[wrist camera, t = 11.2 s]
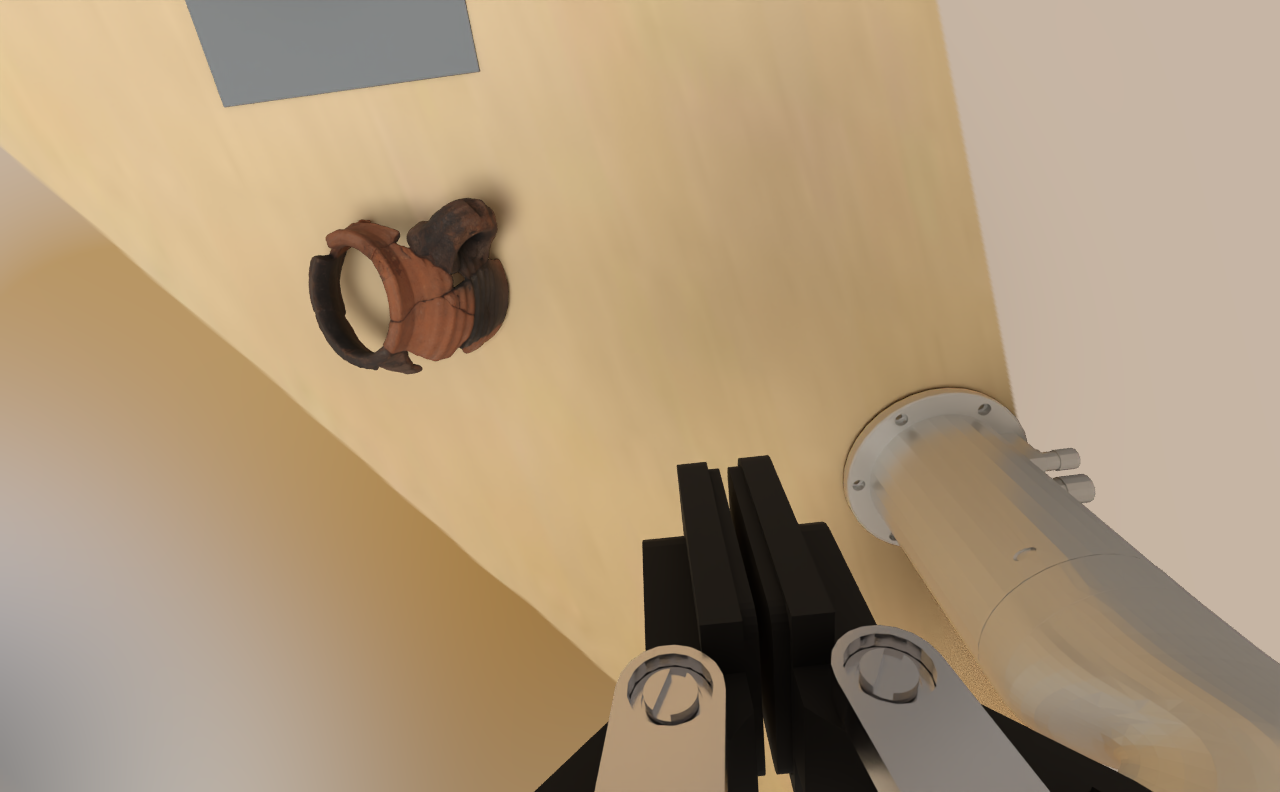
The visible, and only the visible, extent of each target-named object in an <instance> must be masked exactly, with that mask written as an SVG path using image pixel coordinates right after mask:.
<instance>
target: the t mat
mask: <svg viewBox="0 0 1280 792" xmlns="http://www.w3.org/2000/svg"><path fill="white" fill-rule="evenodd" d="M185 1H186V4H187V7H188V9H189V12H190V15H191V18H192V20H193V23H194V26H195V29H196V31H197V34H198V37H199V40H200V42H201V45H202V48H203V51H204V53H205V56H206V59H207V62H208V64H209V67H210V70H211V73H212V75H213V78H214V81H215V84H216V86H217V89H218V92H219V95H220V97H221V100H222V103H223V106H224V107H229V106H237V105H244V104H251V103H258V102H265V101H272V100H279V99H287V98H294V97H301V96H308V95H315V94H322V93H330V92H337V91H344V90H351V89H358V88H365V87H372V86H380V85H387V84H394V83H401V82H408V81H415V80H423V79H430V78H437V77H444V76H451V75H458V74H465V73H473V72H480V71H479V66H478V61H477V56H476V51H475V46H474V42H473V37H472V32H471V27H470V22H469V17H468V12H467V7H466V3H465V0H185Z"/></svg>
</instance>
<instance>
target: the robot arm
mask: <svg viewBox="0 0 1280 792" xmlns="http://www.w3.org/2000/svg"><path fill="white" fill-rule="evenodd" d="M1079 465H1080V456H1079V454H1078V452H1077V451H1076V450H1075V449H1073V448H1067V449H1059V450H1052V451H1050V452H1043V453H1041V452H1040V451H1039V450H1036V449H1034V448H1033V447H1032V446H1031V445H1029V444H1028V443H1027V439H1026V435H1025V432H1024V430H1023V428H1022V427H1021V425H1020V423H1019V421H1018V419H1017V418H1016V417H1015V416H1014V415H1013V414H1012V413H1011V412H1010V411H1009V410H1008V409H1007V408H1006V407H1005V406H1003V405H1002V404H1000V403H999V402H998V401H996V400H995V399H993V398H991V397H989V396H987V395H985V394H983V393H981V392H977V391H973V390H969V389H964V388H941V389H933V390H927V391H924V392H921V393H917V394H914V395H911V396H909V397H907V398H905V399H903V400H900V401H898V402H896V403H894V404H893V405H891V406H890V407H888V408H887V409H885V410H884V411H883V412H881V413H880V414H879V415H877V416H876V417H875V418H874V419H873V420H872V421H871V422H870V423H869V424H868V425H867V426H866V427H865V428H864V430H863V431H862V432H861V434H860V435H859V436H858V438H857V439H856V441H855V443H854V444H853V446H852V448H851V450H850V452H849V454H848V458H847V461H846V465H845V468H844V481H843V484H844V491H845V497H846V499H847V502H848V504H849V506H850V509H851V511H852V512H853V514H854V515H855V517H856V519H857V520H858V522H859V523H860V524H861V525H862V526H863V527H864V528H865V529H866V530H867V531H868V532H869V533H871V534H872V535H874V536H875V537H877V538H878V539H880V540H882V541H885V542H887V543H889V544H892V545H897V546H901V548H902V549H903V551H904V552H905V554H906V555H907V557H908V558H909V560H910V561H911V563H912V564H913V566H914V568H915V569H916V571H917V572H918V574H919V575H920V577H921V578H922V580H923V581H924V583H925V584H926V586H927V587H928V589H929V591H930V592H931V594H932V595H933V597H934V598H935V600H936V601H937V603H938V604H939V606H940V607H941V609H942V610H943V612H944V614H945V615H946V617H947V618H948V620H949V621H950V623H951V624H952V626H953V627H954V629H955V630H956V632H957V633H958V635H959V637H960V638H961V640H962V641H963V643H964V644H965V646H966V647H967V649H968V650H969V652H970V653H971V655H972V656H973V658H974V660H975V661H976V663H977V664H978V666H979V667H980V669H981V670H982V672H983V673H984V675H985V676H986V678H987V679H988V681H989V682H990V684H991V685H992V687H993V688H994V690H995V691H996V693H997V694H998V696H999V697H1000V698H1001V700H1002V701H1003V702H1004V703H1005V705H1006V706H1007V707H1008V708H1009V709H1010V710H1011V711H1012V712H1013V713H1014V714H1015V715H1016V716H1017V718H1018V719H1020V720H1021V721H1022V722H1023V723H1024V724H1026V725H1027V726H1028V727H1030V728H1031V729H1030V728H1028V727H1026V726H1024V725H1022V724H1020V723H1018V722H1016V721H1014V720H1012V719H1010V718H1008V717H1006V716H1004V715H1002V714H1000V713H998V712H996V711H994V710H992V709H990V708H988V707H986V706H984V705H982V704H980V703H979V702H978V700H977V699H976V698H975V697H974V695H973V694H972V693H971V692H970V690H969V689H968V688H967V687H966V685H965V684H964V683H963V682H962V680H961V679H960V678H959V677H958V675H957V674H956V673H955V672H954V670H953V669H952V668H951V667H950V665H949V664H948V663H947V662H946V660H945V659H944V658H943V657H942V655H941V654H940V653H939V652H938V651H937V650H936V649H935V648H934V647H933V646H932V645H930V644H929V643H928V642H927V641H925V640H923V639H922V638H920V637H918V636H917V635H915V634H913V633H911V632H908V631H905V630H902V629H899V628H896V627H890V626H882V625H877V624H876V622H875V620H874V618H873V616H872V614H871V612H870V610H869V608H868V606H867V604H866V602H865V600H864V598H863V596H862V594H861V592H860V590H859V588H858V586H857V584H856V582H855V580H854V578H853V576H852V574H851V572H850V570H849V568H848V566H847V564H846V562H845V560H844V558H843V556H842V553H841V551H840V549H839V547H838V545H837V543H836V541H835V539H834V537H833V535H832V533H831V531H830V529H829V527H828V526H827V524H826V523H824V522H815V523H805V524H798V523H797V520H796V518H795V516H794V513H793V511H792V509H791V506H790V504H789V501H788V499H787V497H786V494H785V492H784V490H783V487H782V485H781V482H780V480H779V478H778V475H777V473H776V470H775V468H774V466H773V463H772V461H771V459H770V457H769V456H768V455H766V456H756V457H747V458H738V466H737V467H728V488H729V503H730V509H729V505H728V502H727V498H726V494H725V490H724V486H723V482H722V478H721V475H720V471H719V469H708V467H707V463H706V462H700V463H691V464H681V465H677V473H678V483H679V492H680V502H681V512H682V522H683V531H684V536H679V537H669V538H660V539H650V540H643V542H642V548H643V580H644V613H645V645H646V651H644V652H643V653H641V654H640V655H638V656H637V657H635V658H634V659H632V660H631V661H630V662H629V663H628V665H627V666H626V667H625V668H624V669H623V671H622V672H621V674H620V676H619V679H618V682H617V684H616V688H615V693H614V698H613V703H612V708H611V713H610V718H609V721H608V722H607V723H606V724H605V725H604V726H603V727H602V728H601V729H600V730H599V731H598V732H597V733H596V734H595V735H594V736H593V737H591V738H590V739H589V740H588V741H587V742H586V743H585V744H584V745H583V746H582V747H581V748H580V749H579V750H578V751H577V752H576V753H575V754H574V755H572V756H571V757H570V759H568V760H567V761H566V762H565V763H564V764H563V765H562V766H561V767H560V768H559V769H558V770H557V771H556V772H555V773H554V774H552V776H550V777H549V778H548V779H547V780H546V781H545V782H544V783H543V784H542V785H541V786H540V787H539V788H538V789H537V790H536V791H535V792H758V776H765V774H766V770H765V750H764V729H763V719H764V723H765V728H766V732H767V737H768V741H769V746H770V750H771V755H772V759H773V763H774V767H775V771H776V773H777V774H787V773H789V775H790V779H791V783H792V787H793V791H794V792H1280V664H1279V663H1278V662H1276V661H1275V660H1274V659H1272V658H1271V657H1270V656H1268V655H1267V654H1265V653H1264V652H1263V651H1262V650H1260V649H1259V648H1257V647H1256V646H1255V645H1254V644H1253V643H1251V642H1250V641H1249V640H1247V639H1246V638H1245V637H1243V636H1242V635H1241V634H1240V633H1239V632H1237V631H1236V630H1235V629H1233V628H1232V627H1231V626H1230V625H1228V624H1227V623H1226V622H1224V621H1223V620H1222V619H1221V618H1220V617H1218V616H1217V615H1216V614H1214V613H1213V612H1212V611H1211V610H1209V609H1208V608H1207V607H1206V606H1204V605H1203V604H1202V603H1201V602H1199V601H1198V600H1197V599H1196V598H1195V597H1193V596H1192V595H1191V594H1190V593H1188V592H1187V591H1186V590H1185V589H1184V588H1182V587H1181V586H1180V585H1179V584H1178V583H1176V582H1175V581H1174V580H1173V579H1172V578H1170V577H1169V576H1168V575H1167V574H1166V573H1165V572H1163V571H1162V570H1161V569H1159V568H1158V567H1157V566H1155V565H1154V564H1153V563H1152V562H1150V561H1149V560H1148V559H1147V558H1146V557H1145V556H1143V555H1142V554H1141V553H1140V552H1139V551H1137V550H1136V549H1135V548H1134V547H1133V546H1131V545H1130V544H1129V543H1128V542H1127V541H1126V540H1124V539H1123V538H1122V537H1121V536H1120V535H1118V534H1117V533H1116V532H1115V531H1114V530H1112V529H1111V528H1110V527H1109V526H1108V525H1106V524H1105V523H1104V522H1103V521H1102V520H1100V519H1099V518H1098V517H1097V516H1096V515H1095V514H1093V513H1092V512H1091V511H1090V510H1089V509H1087V508H1086V507H1085V506H1084V505H1083V504H1082V503H1087V502H1091V501H1092V500H1093V499H1094V496H1095V487H1094V485H1093V482H1092V481H1091V479H1090V478H1089V477H1088V476H1087V475H1084V474H1078V475H1069V476H1061V477H1055V478H1053V479H1052V478H1051V477H1049V476H1048V475H1047V474H1046V473H1045V471H1051V470H1056V471H1060V470H1068V469H1075V468H1078V467H1079ZM1100 763H1101V764H1100ZM1102 764H1104V765H1106V766H1109V767H1112V768H1115V769H1118V772H1116V771H1114V770H1112V769H1110V768H1108V767H1106V766H1104V765H1102Z"/></svg>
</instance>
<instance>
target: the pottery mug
mask: <svg viewBox="0 0 1280 792" xmlns="http://www.w3.org/2000/svg"><path fill="white" fill-rule="evenodd" d="M496 233H497V223H496V218H495V214H494V212H493V211H492V209H491V208H489V207H487V206H486V205H485V203H484V202H483V201H482V200H480V199H471V198H464V199H458V200H455V201H452V202H450V203H448V204H447V205H445V206H443V207H442V208H441V209H440V210H438V211H437V212H436V213H435V214H434V215H433V216H432V217H431V218H430V220H429V221H422V222H419V223H418V224H417V225H415V226H414V227H413V228H411V229H410V230H409V232H408V234H407V242H408V244H409V246H410V248H407V247H405V246H400V245H398V244H397V243H396V242H397V241H398V239H399V238H400V233H399V231H397V230H395V229H391V228H389V227H386V226H381V225H379V224H376V223H371V222H370V220H359V221H358V222H357V223H352V224H351V225H350V226H348V227H347V228H346V229H343V230H342V229H339V230H336V231H334V232H332V233H330V234H328V235H327V236H326V241H327V245H328V247H329V248H331V252H330V254H329V255H325V256H322V255H318V256H314V257H312V259H311V262H310V268H309V294H310V299H311V304H312V307H313V310H314V312H315V314H316V319H317V322H318V324H319V328H320V329H321V331H322V332H323V334H324V336H325V338H326V340H327V342H328V343H329V344H330V346H331V347H332V348H333V350H334V351H335V352H336V353H337V354H338V355H339V356H340V357H342V358H343V359H344V360H346V361H348V362H349V363H351V364H353V365H355V366H358V367H360V368H366V369H373V370H378V368H379V367H381V368H384V369H386V370H389V371H395V372H401V373H404V374H413V373H418V372H420V371H422V367H421V366H420V365H416V364H413V362H412V361H411V360H410V358H409V356H408V351H409V352H412V353H413V354H415V355H417V356H421V357H423V358H426V359H430V360H433V361H439V360H441V359H445V358H448V357H451V356H452V354H453V353H454V352H455V351H456V349H457V348H461V349H462V350H463V352H464V353H466V354H467V353H470V352H473V351H474V350H476V349H478V348H479V347H481V346H482V345H483V343H484V342H486V341H488V340H489V339H490V338H492V337H493V336H494V335H495V333H496V332H497V331H498V330H499V328H500V326H501V324H502V322H503V321H504V318H505V315H506V311H507V308H508V292H509V291H508V283H507V279H506V277H505V273H504V269H503V267H502V264H501V262H500V260H498V259H495V260H492V259H488V257H489V248H490V245H491V242H492V240H493V239H494V237H495V235H496ZM351 247H354V248H356V249H358V250H359V251H361V252H362V253H363V254H364V255H366V256H367V257H368V258H369V259H370V260H372V262H373V264H374V266H375V267H376V269H377V271H378V272H379V274H380V277H381V279H382V281H383V284H384V287H385V290H386V293H387V297H388V302H389V311H390V319H391V321H390V323H389V330H388V334H387V337H386V339H385V342H384V344H383V347H382V348H380V349H379V350H378V351H376V352H372V351H370V350H369V349H368V348H366V347H365V346H364V345H363V343H361V342H360V340H359V339H358V337H357V335H356V334H355V332H354V330H353V328H352V326H351V325H350V323H349V322H348V321H347V319H346V317H345V314H346V310H345V305H344V302H343V299H342V294H341V288H340V274H341V270H342V265H343V262H344V258H345V256H346V253H347V250H348V249H350V248H351ZM456 272H459V273H460V274H461V275H462V276H463V277H465V280H464V281H463V282H461V283H460V284H459V285H457V286H456V287H453V277H452V273H456Z"/></svg>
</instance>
